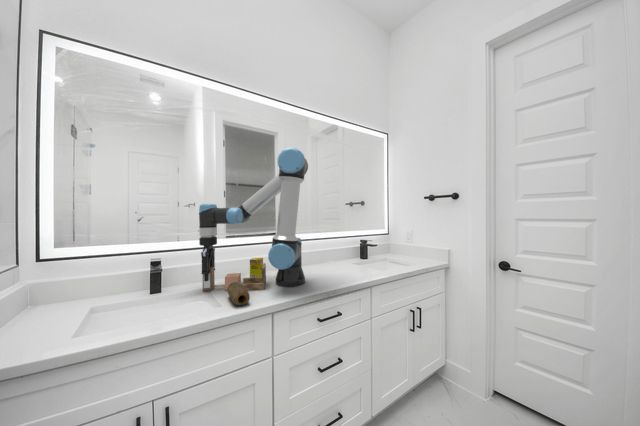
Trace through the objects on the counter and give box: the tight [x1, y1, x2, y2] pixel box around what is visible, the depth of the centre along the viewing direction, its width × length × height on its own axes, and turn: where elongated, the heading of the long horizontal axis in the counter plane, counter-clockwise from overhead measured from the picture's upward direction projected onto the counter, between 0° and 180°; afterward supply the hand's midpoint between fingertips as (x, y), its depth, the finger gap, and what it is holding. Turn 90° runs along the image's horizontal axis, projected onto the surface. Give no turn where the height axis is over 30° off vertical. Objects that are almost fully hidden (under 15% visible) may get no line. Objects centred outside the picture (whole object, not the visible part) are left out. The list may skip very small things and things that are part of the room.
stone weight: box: [226, 282, 250, 306], centre depth 96 cm, size 15×7×7 cm, turn 36°
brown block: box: [202, 267, 242, 292], centre depth 113 cm, size 16×7×10 cm, turn 100°
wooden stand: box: [241, 262, 267, 292], centre depth 115 cm, size 11×12×10 cm
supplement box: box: [249, 257, 264, 278], centre depth 131 cm, size 6×6×11 cm
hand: (208, 285), depth 112 cm, fingers closed on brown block, 4 cm apart
